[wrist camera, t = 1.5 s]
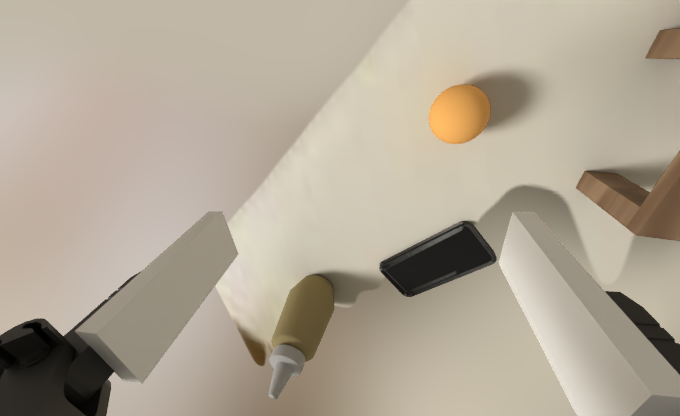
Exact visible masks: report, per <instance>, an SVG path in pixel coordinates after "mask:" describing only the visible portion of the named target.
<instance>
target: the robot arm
mask: <svg viewBox="0 0 680 416" xmlns="http://www.w3.org/2000/svg"><path fill="white" fill-rule="evenodd" d="M237 255H238V252H237V249H236V246H235V244H234V241H233V239H232V236H231V233H230V231H229V228H228V225H227V223H226V220H225V218H224V215H223V212H208V213H206V214H205V215H204V216H203V217H202V218H201V219H200V220H199V221H197V222H196V223H195V224H194V225H193V226H192V227H191V228H190V229H189V230H187V231H186V232H185V233H184V234H183V235H182V236H181V237H180V238H178V239H177V240H176V241H175V242H174V243H173V244H172V245H171V246H170V247H168V248H167V249H166V250H165V251H164V252H163V253H162V254H160V255H159V256H158V257H157V258H156V259H155V260H154V261H153V262H152V263H150V265H148V266H147V267H146V268H145V269H144V270H143V271H141V272H139V273H138V274H136V275H134V276H133V277H131V278H130V279H129V280H127V281H126V282H125V283H124V284H123V285H122V286H121V287H120V288H118V291H115V292H114V293H113V294H111V296H109V297H108V299H107V300H105V301H103V302H102V303H101V304H100V305H99V306H98V307H97V308H96V309H94V310H93V311H92V312H91V313H90V314H89V315H88V316H87V317H85V318H84V319H83V320H82V321H81V322H80V323H78V324H77V325H76V326H75V327H74V328H73V329H72V330H70V331H69V332H68V333H67V334H66V335H65V336H62V335H61V334H60V333H59V332H58V331H57V330H56V329H55V328H54V327H53V326H52V325H51V324H50V323H49V322H48V321H46V320H45V319H34V320H31V321H27V322H24V323H22V324H20V325H18V326H15V327H13V328H12V329H10V330H8V331H7V332H5V333H4V334H2V335H1V336H0V416H106V414H107V407H108V402H109V397H110V391H111V383H110V381H109V380H108V378H109V377H110V376H111V375H112V373H113V372H115V373H116V374H117V375H118V376H119V377H120V378H121V379H122V380H123V381H126V382H133V383H140V384H142V383H143V382H144V381H145V379H146V378H147V377H148V375H149V374H150V373H151V371H152V370H153V369H154V367H155V366H156V365H157V363H158V362H159V361H160V359H161V358H162V356H163V355H164V354H165V352H166V351H167V350H168V348H169V347H170V346H171V344H172V343H173V341H174V340H175V339H176V338H177V336H178V334H180V332H181V331H182V329H183V328H184V327H185V325H186V324H187V323H188V321H189V320H190V319H191V317H192V316H193V315H194V313H195V312H196V310H197V309H198V308H199V307H200V305H201V304H202V302H203V301H204V300H205V298H206V297H207V296H208V294H209V293H210V292H211V290H212V289H213V288H214V286H215V285H216V284H217V282H218V281H219V280H220V278H221V277H222V275H223V274H224V273H225V271H226V270H227V269H228V267H229V266H230V265H231V263H232V262H233V261H234V259H235V258H236V257H237ZM499 265H500V267H501V269H502V271H503V273H504V275H505V277H506V279H507V280H508V283H509V285H510V287H511V289H512V291H513V292H514V294H515V296H516V298H517V300H518V302H519V304H520V306H521V308H522V310H523V312H524V314H525V316H526V318H527V320H528V321H529V324H530V326H531V328H532V330H533V331H534V333H535V335H536V337H537V339H538V341H539V343H540V345H541V347H542V349H543V351H544V353H545V355H546V357H547V359H548V361H549V362H550V365H551V367H552V368H553V370H554V372H555V374H556V376H557V378H558V380H559V382H560V384H561V386H562V388H563V390H564V392H565V394H566V396H567V398H568V400H569V401H570V404H571V405H572V407H573V409H574V411H575V413H576V415H577V416H680V344H678V343H675V341H674V340H675V339H674V338H673V337H672V336H671V335H670V334H669V333H668V332H667V331H666V330H665V329H664V328H661V327H660V324H659V323H658V322H657V321H656V320H655V319H654V318H653V317H652V316H651V315H650V314H649V313H648V312H647V311H646V310H645V309H644V308H643V307H642V306H640V305H639V304H637V303H636V302H634V301H633V300H631V299H630V298H628V297H627V296H625V295H624V294H622V293H621V292H608V291H604V290H603V289H602V288H601V287H600V285H599V284H598V283H597V282H596V281H595V280H594V279H593V278H592V276H591V275H590V274H589V273H588V272H587V271H586V270H585V269H584V268H583V266H581V264H580V263H579V262H578V261H577V260H576V259H575V258H574V256H573V255H572V254H571V253H570V252H569V251H568V250H567V249H566V247H565V246H564V245H563V244H562V243H561V242H560V241H559V240H558V238H557V237H556V236H555V235H554V234H553V233H552V232H551V231H550V230H549V228H548V227H547V226H546V225H545V224H544V223H543V222H542V221H541V220H540V218H539V217H538V216H537V215H536V214H535V213H534V212H512V216H511V219H510V223H509V227H508V230H507V234H506V237H505V241H504V245H503V248H502V252H501V256H500V259H499Z"/></svg>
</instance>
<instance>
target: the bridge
mask: <svg viewBox="0 0 680 416" xmlns="http://www.w3.org/2000/svg"><path fill="white" fill-rule="evenodd" d="M646 58H656V59H680V28H678V29H669V30H660V31H659V33H658V35H657V37H656V39H655V41H654V43H653V44H652V46H651V48H650V50H649V52H648V54H647V56H646ZM576 188H577V189H578V190H579V191H581V192H582V193H583V194H584V195H586V196H587V197H588V198H589V199H591V200H592V201H593V202H594V203H596V204H597V205H598V206H600V207H601V208H602V209H603V210H605V211H606V212H607V213H608V214H610V215H611V216H612V217H613V218H615V219H616V220H617V221H619V222H620V223H621V224H622V225H624V226H625V227H626V228H627V229H629V230H630V231H631V232H632V233H634V234H635V235H637V236H645V237H652V238H660V239H667V240H676V241H680V151H679V152H678V154H677V155H676V157H675V158H674V159H673V161H672V162H671V164H670V165H669V167H668V168H667V169H666V171H665V172H664V174H663V175H662V176H661V178H660V179H659V181H658V182H657V184H656V185H655V186H654V188H653V189H652V191H651V192H648V191H647V190H645V189H643V188H641V187H639V186H638V185H636V184H634V183H632V182H631V181H629V180H627V179H625V178H624V177H622V176H620V175H618V174H611V173H600V172H590V171H585V172H584V174H583V175H582V177H581V179H580V181H579V183H578V185H577V187H576Z"/></svg>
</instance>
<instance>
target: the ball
mask: <svg viewBox="0 0 680 416" xmlns="http://www.w3.org/2000/svg"><path fill="white" fill-rule="evenodd" d="M489 118H490V103H489V100H488V98H487V96H486V95H485V93H484V92H483V91H481V90H480V89H479V88H477V87H475V86H472V85H456V86H453V87H450V88H448V89H446V90H445V91H443V92H442V93H441V94H440V95H439V96H438V97H437V98H436V99H435V101H434V102H433V104H432V106H431V109H430V113H429V124H430V127H431V130H432V132H433V133H434V134H435V136H436V137H437V138H439V139H440V140H442V141H444V142H446V143H450V144H461V143H465V142H468V141H470V140H472V139H474V138H475V137H477V136H478V135H479V134H480V133H481V132H482V131H483V130H484V128H485V127H486V125H487V123H488V121H489Z"/></svg>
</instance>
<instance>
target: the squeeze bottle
mask: <svg viewBox="0 0 680 416" xmlns="http://www.w3.org/2000/svg"><path fill="white" fill-rule="evenodd" d="M333 311H334V296H333V287H332V285H331V284H330V282H329V281H328V280H326V279H325V278H323V277H321V276H318V275H309V276H306V277H305V278H304V279H303V280H301V281H300V282H299V283H298V284H297V285H296V286H295V287H294V288H292V289H291V290H290V293H289V295H288V298H287V301H286V303H285V306H284V308H283V311H282V314H281V316H280V319H279V322H278V324H277V327H276V329H275V332H274V335H273V337H272V344H273V347H274V350H273V352H272V354H271V357H270V359H269V361H270V364H271V366H272V367H273V368H274V372H273V376H272V381H271V385H270V390H269V394H268V395H269V397H271V398H273V399H277V398H278V396H279V394H280V393H281V391H282V390H283V388H284V386H285V385H286V383H287V381H288V380H289V378H290V377H291V376H297V375H299V374H301V371H302V369H303V366H304V363H305V362H306V361H308V360H311V359H312V358H313V356H314V354H315V352H316V350H317V348H318V345H319V343H320V341H321V338H322V336H323V334H324V332H325V329H326V327H327V325H328V322H329V320H330V318H331V316H332V313H333Z"/></svg>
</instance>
